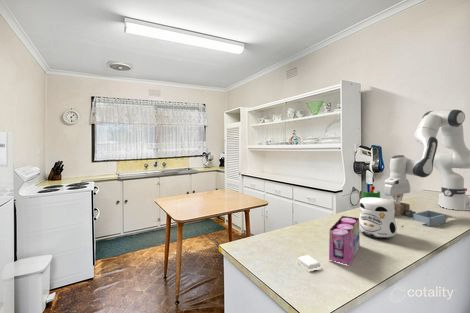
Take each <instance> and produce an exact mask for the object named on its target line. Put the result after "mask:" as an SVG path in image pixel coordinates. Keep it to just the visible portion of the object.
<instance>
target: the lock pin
mask: <svg viewBox="0 0 470 313" xmlns="http://www.w3.org/2000/svg"><path fill="white" fill-rule="evenodd" d="M396 198H397V199H398V201H397V202H395V204H398V205H400V204H401V202H402V201H401V194H400V195H397V197H396Z"/></svg>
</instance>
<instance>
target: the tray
mask: <svg viewBox="0 0 470 313" xmlns="http://www.w3.org/2000/svg"><path fill="white" fill-rule="evenodd" d="M412 221H416V222H419V223H421V225H422V226H426V227H428V228H432V227H436V226H438V225H440V226H441V225H443V224H446V223H447V214H445V213H442V212H441V213H440V212H437V211H433V210H425V211H421V212H416V213H415V214H413V218H412Z"/></svg>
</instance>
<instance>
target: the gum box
mask: <svg viewBox="0 0 470 313" xmlns="http://www.w3.org/2000/svg"><path fill="white" fill-rule="evenodd" d="M359 246H360V229H359V217H353V216H347V215H342V216H340V218H339V219H337V221H336V222H335V223H334V224H333V225H332V226H331V227H330V228H329V243H328V247H329V249H328V256H329V257H328V258H329V259H328V261H329V260H332V261H336V262H340V263H343V264H347V265H349V264H350V265H351V263H352V261H353V259H354V258H355V256H356V254H357V252H358V250H359V249H358V248H360V247H359ZM356 251H357V252H356ZM355 253H356V254H355ZM354 255H355V256H354ZM353 257H354V258H353ZM352 258H353V259H352ZM351 260H352V261H351ZM350 262H351V263H350ZM350 265H349V266H350Z"/></svg>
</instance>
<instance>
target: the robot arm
mask: <svg viewBox="0 0 470 313" xmlns="http://www.w3.org/2000/svg"><path fill="white" fill-rule="evenodd" d="M465 119H466V114H465V112H464V111H462V110H461V109H440V110H431V111H426V112H425V113H424V115H422V119H421V120H420V122H419V123H418V125H417V127H416V130H415V132H414V135H413V137H414V139H415V141H416V142H417V143H420V144H422V145H423V148H424V149H423V152H422V156H421V158H420V160H415V159H414V160H413V159H410V158H408V157H406V156H405V155H404V154H402V155H401V154H399V155H394V156H392V157H390V160H389V161H390V162H389V172H390V173H389V177H388V178H386V179H385V180H384V182H383V183H384V194H385V196H387V197H392V201H393V202H397V201H398V199H397V198H396V197H397V195H400V194H401V202H402V201H403V198H404V194H410V192H411V184H410V181H409V179H407V175H411V176H416V177H419V178H427V177H429V176H431V175H432V173H433V170H434V168H435V169H436V170H437V172H439V174H440V175H441V181H442V183H441V184H442V185H441V189H440V190H441V193H439V195H438V202H437V203H436V204H439V205H440V206H441V207H440V206H439V205H438V206H439V207H440V208H442V207H444V208H443V209H446V208H447V209H446V210H452V209H454V211H465V210H470V197H469V196H468V195H467V194H466V192H467V190H468V188H466V187H465V178H464V176H463V175H461V174H460V173H458V172H455V171H454V170H453V169H470V149H469V148H468V147H467V146H466V143H465V136H464V126H463V123H464V121H465ZM440 128H441V129H440ZM439 130H441V133H440V134H441V135H440V136H441V145H442V146H443V147H444V148H446V149H449V150H451V151H452V152H450V151H449V152H445V151H444V152H442V151H441V152H437V148H438V145H439V142H438V138H437V135H438V133H439Z"/></svg>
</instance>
